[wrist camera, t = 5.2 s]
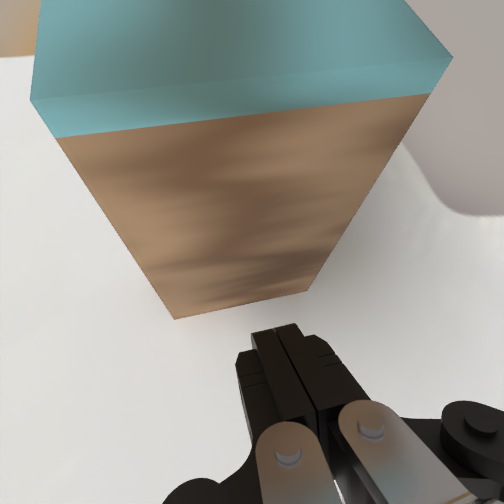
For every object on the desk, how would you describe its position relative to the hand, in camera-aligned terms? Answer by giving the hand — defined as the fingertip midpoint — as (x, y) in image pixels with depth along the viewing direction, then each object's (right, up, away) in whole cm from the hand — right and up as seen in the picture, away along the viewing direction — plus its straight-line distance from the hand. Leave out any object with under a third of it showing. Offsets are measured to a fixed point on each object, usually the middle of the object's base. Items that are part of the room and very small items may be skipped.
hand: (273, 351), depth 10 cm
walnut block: (-2, +2, +9) cm, 9 cm away
